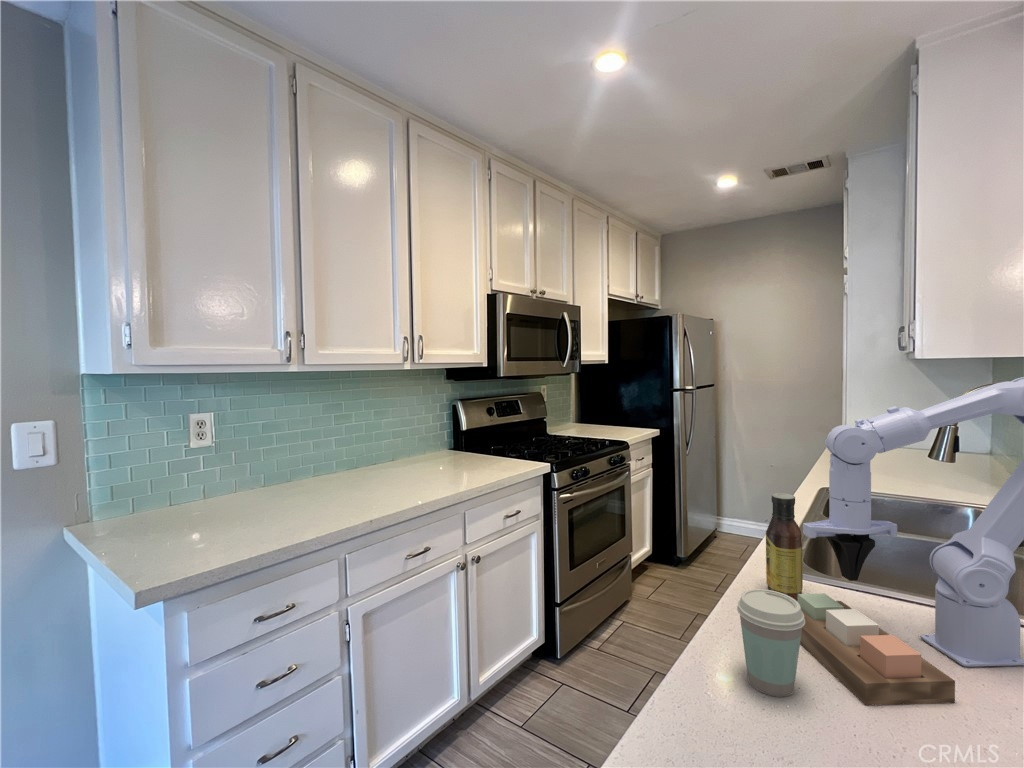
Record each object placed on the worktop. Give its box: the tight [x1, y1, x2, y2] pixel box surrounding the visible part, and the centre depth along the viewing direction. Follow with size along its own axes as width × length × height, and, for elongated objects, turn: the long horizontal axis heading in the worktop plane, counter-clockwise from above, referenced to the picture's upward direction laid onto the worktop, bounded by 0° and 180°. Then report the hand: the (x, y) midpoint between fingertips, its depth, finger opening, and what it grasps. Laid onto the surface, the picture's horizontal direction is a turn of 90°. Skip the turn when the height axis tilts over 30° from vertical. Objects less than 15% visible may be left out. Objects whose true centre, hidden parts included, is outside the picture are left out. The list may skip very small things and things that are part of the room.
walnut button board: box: [800, 600, 956, 706], centre depth 75 cm, size 12×22×3 cm, turn 1°
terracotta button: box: [860, 634, 922, 679], centre depth 68 cm, size 5×5×4 cm
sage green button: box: [797, 592, 844, 620], centre depth 83 cm, size 5×5×4 cm
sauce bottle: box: [765, 492, 804, 600], centre depth 95 cm, size 7×6×20 cm
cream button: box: [826, 608, 880, 647], centre depth 75 cm, size 5×5×4 cm
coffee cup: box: [736, 588, 805, 698], centre depth 69 cm, size 8×8×12 cm
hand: (849, 578), depth 81 cm, fingers closed
